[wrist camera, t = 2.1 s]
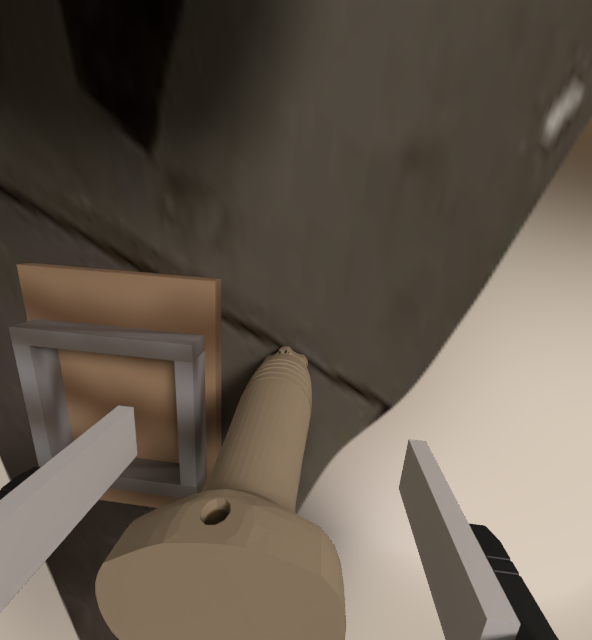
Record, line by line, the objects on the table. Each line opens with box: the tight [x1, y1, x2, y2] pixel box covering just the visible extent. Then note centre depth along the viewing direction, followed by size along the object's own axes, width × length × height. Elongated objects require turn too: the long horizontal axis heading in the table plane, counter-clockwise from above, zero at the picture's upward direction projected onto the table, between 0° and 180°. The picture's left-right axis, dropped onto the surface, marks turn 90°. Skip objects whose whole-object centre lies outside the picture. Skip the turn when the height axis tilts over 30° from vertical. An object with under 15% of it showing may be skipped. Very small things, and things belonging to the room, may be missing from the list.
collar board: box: [9, 263, 222, 508], centre depth 22 cm, size 20×14×3 cm
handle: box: [95, 346, 346, 640], centre depth 15 cm, size 5×6×15 cm
